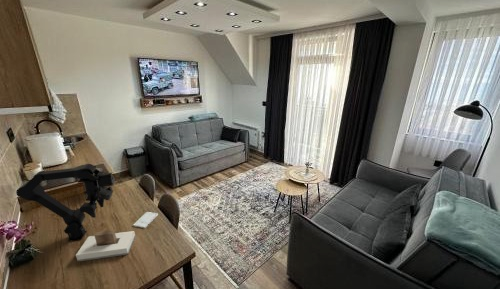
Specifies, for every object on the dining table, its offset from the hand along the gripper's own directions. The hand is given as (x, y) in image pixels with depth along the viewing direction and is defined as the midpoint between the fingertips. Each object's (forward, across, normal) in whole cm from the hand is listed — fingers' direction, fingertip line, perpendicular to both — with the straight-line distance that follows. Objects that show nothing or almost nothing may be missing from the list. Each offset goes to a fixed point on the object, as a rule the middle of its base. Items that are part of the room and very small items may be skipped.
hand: (98, 212), depth 114 cm
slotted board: (+13, -14, -8) cm, 21 cm away
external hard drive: (+14, +5, -21) cm, 26 cm away
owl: (+13, +41, +20) cm, 47 cm away
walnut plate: (+12, -14, -8) cm, 20 cm away
